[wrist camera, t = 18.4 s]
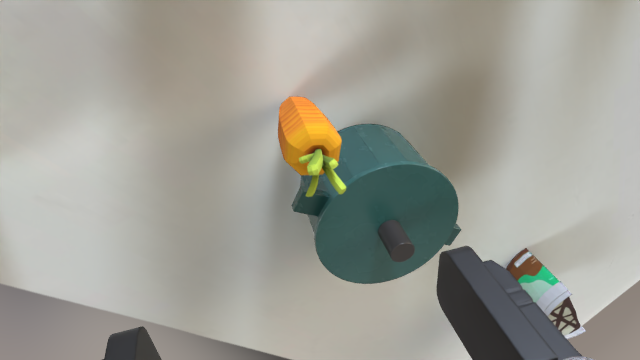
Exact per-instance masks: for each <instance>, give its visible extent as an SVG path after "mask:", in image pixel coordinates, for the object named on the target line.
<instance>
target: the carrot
mask: <svg viewBox="0 0 640 360" xmlns="http://www.w3.org/2000/svg"><path fill="white" fill-rule="evenodd" d="M278 138H279V142H280V147H281V150H282V154H283V157H284V160H285V161H286V162H287V163H288V164H289V165H290V166H292V167H293V168H294V169H295V170H296V171H297V172H298V173H299V174H300V175H313V176H312V180H311V183H310V186H309V188H308V191H307V193H306V195H305V196H307V197H312V196H313V195H314V193H315V191H316V188H317V185H318V180H319V175H322V174H324V173H325V174H326V176H327V177H328V179H329V181H330V182H331V184H332V185H333V187H334V188H335V190H336V191H337V192H338V193H339V194H343V193H344V192H345V191H346V186H345V184H344V183H343V182H342V181H341V179H340V178H339V177H338V176H337V174H336V173H335V172H334V171H333V169H335V168H336V167H337V166H338V163H337V162H338V161H339V155H340V149H341V143H342V139H341V137H340V135H339V134H338V132H337V131H336V129H335V128H334V127H333V125H332V124H331V123H330V121H329V120H328V119H327V118H326V117H325V115H324V114H323V113H322V112H321V111H320V110H319V109H318V108H317V107H316V105H314V104H313V103H312V102H311V101H309V100H308V99H306V98H304V97H289V98H287V99H286V100H285V101H284V102H283V103H282V104H281V106H280V109H279V124H278Z"/></svg>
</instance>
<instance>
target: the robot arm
mask: <svg viewBox="0 0 640 360" xmlns="http://www.w3.org/2000/svg"><path fill="white" fill-rule="evenodd" d="M437 296H438V300H439V303H440V306H441V308H442V310H443V312H444V313H445V315H446V317H447V318H448V320H449V322H450V323H451V325H452V327H453V328H454V330H455V331H456V333H457V335H458V336H459V338H460V340H461V341H462V343H463V345H464V346H465V348H466V350H467V351H468V353H469V355H470V356H471V358H472V360H594V359H590V358H587V357H583V356H582V355H581V354H580V353H578V351H577V350H576V349H575V348H574V347H573V346H572V345H571V344H570V342H569V341H568V340H567V339H566V338H565V336H564V335H563V334H562V333H561V332H560V331H559V329H558V328H557V327H556V326H555V325H554V323H553V322H552V321H551V320H550V319H549V318H548V316H547V315H546V314H545V313H544V312H543V311H542V309H541V308H540V307H539V306H538V305H537V303H536V302H533V299H532V298H531V296H530V295H529V294H528V293H527V292H526V290H523V289H522V286H521V285H520V283H519V282H518V281H517V280H516V279H515V278H514V276H513V275H512V274H511V273H510V272H509V271H508V270H506V269H505V268H503V267H502V266H500V265H498V264H497V263H495V262H494V261H492V260H489V261H485V262H482V260H481V259H480V258H479V257H478V255H477V254H476V253H475V252H474V250H473V249H472V248H470V247H469V246H464V247H460V248H456V249H452V250H448V251H445V252H442V253H441V254H440V258H439V268H438V279H437ZM103 360H161V358H160V356H159V354H158V352H157V350H156V348H155V346H154V344H153V342H152V340H151V338H150V336H149V334H148V332H147V330H146V329H145V328H144V327H138V328H135V329H131V330H127V331H123V332H119V333H115V334H112V335H111V336H110V337H109V339H108V343H107V348H106V353H105V358H104V359H103Z"/></svg>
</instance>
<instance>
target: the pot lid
mask: <svg viewBox="0 0 640 360" xmlns="http://www.w3.org/2000/svg"><path fill="white" fill-rule="evenodd" d="M344 184H345V186H346V191H345V192H344V193H343V194H339V193H338V192H337V191H336V192H335V193H334V194H333V195H332V196H331V197H330V198H329V200H328V201H327V202H326V204H325V205H324V207H323V209H322V210H321V213H320V215H319V217H318V220H317V223H316V227H315V234H314V240H315V247H316V251H317V254H318V256H319V259H320V261H321V262H322V264H323V265H324V266H325V267H326V269H327V270H328V271H330V272H331V273H332V274H334V275H335V276H337V277H339V278H341V279H343V280H346V281H349V282H354V283H362V284H373V283H381V282H386V281H390V280H393V279H396V278H399V277H402V276H404V275H406V274H408V273H410V272H412V271H414V270H416V269H417V268H419V267H421V266H422V265H423V264H425V263H426V262H427V261H429V260H430V259H431V258H432V257H433V256H434V255H435V254H436V253H437V252H438V251H439V250H440V249H441V248H442V247H443V245H444V244H445V243H446V241H447V240H448V238H449V237H450V235H451V233H452V231H453V229H454V226H455V223H456V220H457V216H458V198H457V194H456V191H455V189H454V187H453V185H452V184H451V182H450V181H449V180H448V179H447V177H446V176H445V175H443V174H442V173H441V172H440V171H438V170H437V169H435V168H434V167H431V166H429V165H426V164H423V163H419V162H412V161H396V162H389V163H385V164H381V165H377V166H375V167H372V168H369V169H367V170H365V171H363V172H361V173H359V174H357V175H356V176H354V177H353V178H351V179H349V180H348V181H347V182H346V183H344Z"/></svg>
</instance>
